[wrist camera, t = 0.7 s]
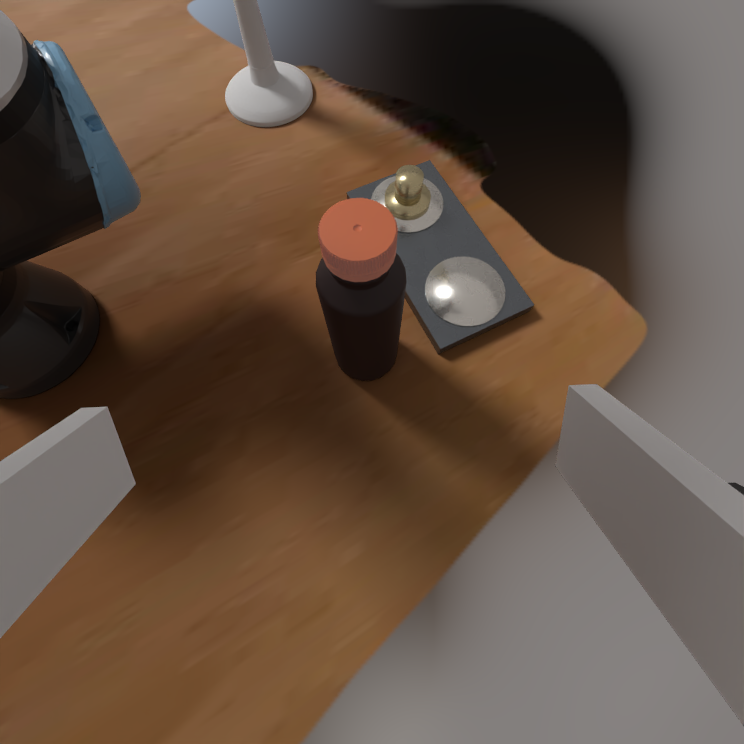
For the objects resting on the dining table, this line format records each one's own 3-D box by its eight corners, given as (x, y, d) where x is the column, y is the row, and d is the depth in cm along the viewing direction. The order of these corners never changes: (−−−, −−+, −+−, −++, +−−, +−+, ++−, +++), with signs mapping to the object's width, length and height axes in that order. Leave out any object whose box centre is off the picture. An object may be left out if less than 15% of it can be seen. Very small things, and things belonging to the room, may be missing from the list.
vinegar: (341, 387, 40) (310, 285, 21) (331, 331, 43) (295, 194, 24) (402, 375, 41) (425, 264, 22) (389, 320, 43) (399, 177, 24)
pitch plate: (347, 201, 49) (343, 163, 43) (428, 169, 50) (434, 129, 45) (438, 354, 41) (447, 331, 36) (529, 311, 43) (550, 283, 38)
